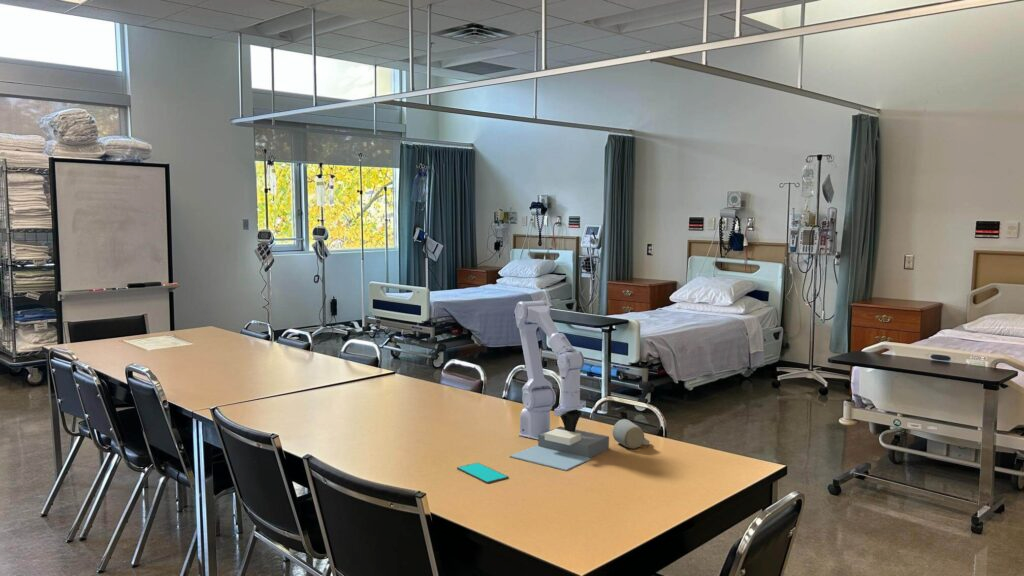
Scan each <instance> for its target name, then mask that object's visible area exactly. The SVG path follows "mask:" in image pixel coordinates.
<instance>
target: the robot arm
mask: <svg viewBox="0 0 1024 576" xmlns="http://www.w3.org/2000/svg"><path fill="white" fill-rule="evenodd" d="M513 313H514V315H515V322H516V327H517V329H518V330H519V334H520V335H519V336H520V340H521V348H522V351H523V352H522V353H523V358H524V363H525V368H526V369H525V370H526V375H527V381H526V382H525V384H524V385H523V386H522V387H521V388H522V390H521V391H522V398H521V399H522V404H523V406H524V407H523V408H522V410H521V412H520V416H519V433H518V436H520V437H524V438H529V439H534V440H537V441H538V435H539V434H542V433H544V432H547V431H550V430H551V410H553V406H555V404H556V401H557V396H556V392H555V390H554V389H553V384H552V383H553V382H552V381H549V380H548V379H546V378H545V375H544V369H543V364H542V359H541V358H542V357H541V353H540V348H539V341H538V336H537V329H538V328H539V327H540V328H541V330H542V331H543V332H544V334H545V335H546V336H547V337H548V339H549V340H548V345H549V347H550V348H551V350H552V352H553V354H555V356H556V358H557V360H556V361H557V362H556V363H557V367H558V370H559V376H560V379H561V381H560V404H559V405H558V406H557V407H556V408H554V410H553V415H554V416H557V417H560V418H561V421H562V424H563V427H565V430H566V431H570V432H575V430H577V429H576V428H577V425H578V421H579V420H580V418H581V416H582V411H581V410H583V409H585V408H587V407H586V406H587V404H586V400H581V398H580V397H581V370H582V369H583V368H584V365H585V357H584V355H583V353H582V351H581V350H579V349H577V348H574V347H573V345H572V344H571V343H570V341H569V339H568V338H567V336H566V335H565V334H564V332H563V333H562V332H559V330H558V328H557V326H556V325H555V323H554V321H553V319H552V317H551V309H550V306H549V304H548V302H547V301H546V300H544V299H541V300H534V301H533V300H532V301H531V300H530V301H528V300H527V301H518V302H517V303H516V306H515V308H514V312H513Z"/></svg>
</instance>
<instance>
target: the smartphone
mask: <svg viewBox="0 0 1024 576" xmlns="http://www.w3.org/2000/svg"><path fill="white" fill-rule="evenodd" d="M456 470H457V471H459V472H462V473H464V474H466V475H468V476H470V477H472V478H475V479H477V480H478V481H480V482H482V483H485V484H488V485H489V484H493V483H496V482H499V481H500V482H501V481H504V480H509V479H510V478H509V477H510V476H508V475H506V474H504V473H502V472H499V471H498V470H496V469H493V468H491V467H488V466H486V465H484V464H482V463H480V462H475V463H470V464H466V465H462V466H457V467H456Z"/></svg>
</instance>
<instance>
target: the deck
mask: <svg viewBox="0 0 1024 576" xmlns="http://www.w3.org/2000/svg"><path fill="white" fill-rule="evenodd" d="M554 429H561V430H565V427H564V426H558V427H554V428H552V429H550V431H551V430H554ZM547 432H549V431H547ZM547 432H544V433H542V434H539V435H538V440H537V441H538V442H537V443H538V444H537V446H540V447H544V448H549V449H553V450H557V451H562V452H566V453H570V454H575V455H579V456H584V457H588V458H591V459H592V458H593V457H595V456H597V455H600V454H601V453H603V452H606V451H607V450H608V451H609V449H610V436H608V435H605V434H598V433H593V432H589V431H584V430H579V429H575V433H580V434H581V440H580V441H578V442H576V443H574V444H571V445H566V444H562V443H557V442H552V441H548V440H545V433H547Z"/></svg>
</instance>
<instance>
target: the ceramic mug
mask: <svg viewBox="0 0 1024 576" xmlns="http://www.w3.org/2000/svg"><path fill="white" fill-rule="evenodd" d="M612 437H613V439H614V440H615V441H616V442H617V443H618V444H621V445H622V446H624V447H626V448H627V449H631V450H635V449H638V448H639V447H641V446H642V445H645V446H649V444H650V440H649V439H648V438H646V437H645V434H644V430H642V428H641V427H640V426H639V425H637V424H636V423H634V422H632V421H631V420H629V419H625V418H623V419H620V420H619V419H618V421H617V422H616V423H615V424H614V425H613V428H612Z"/></svg>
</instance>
